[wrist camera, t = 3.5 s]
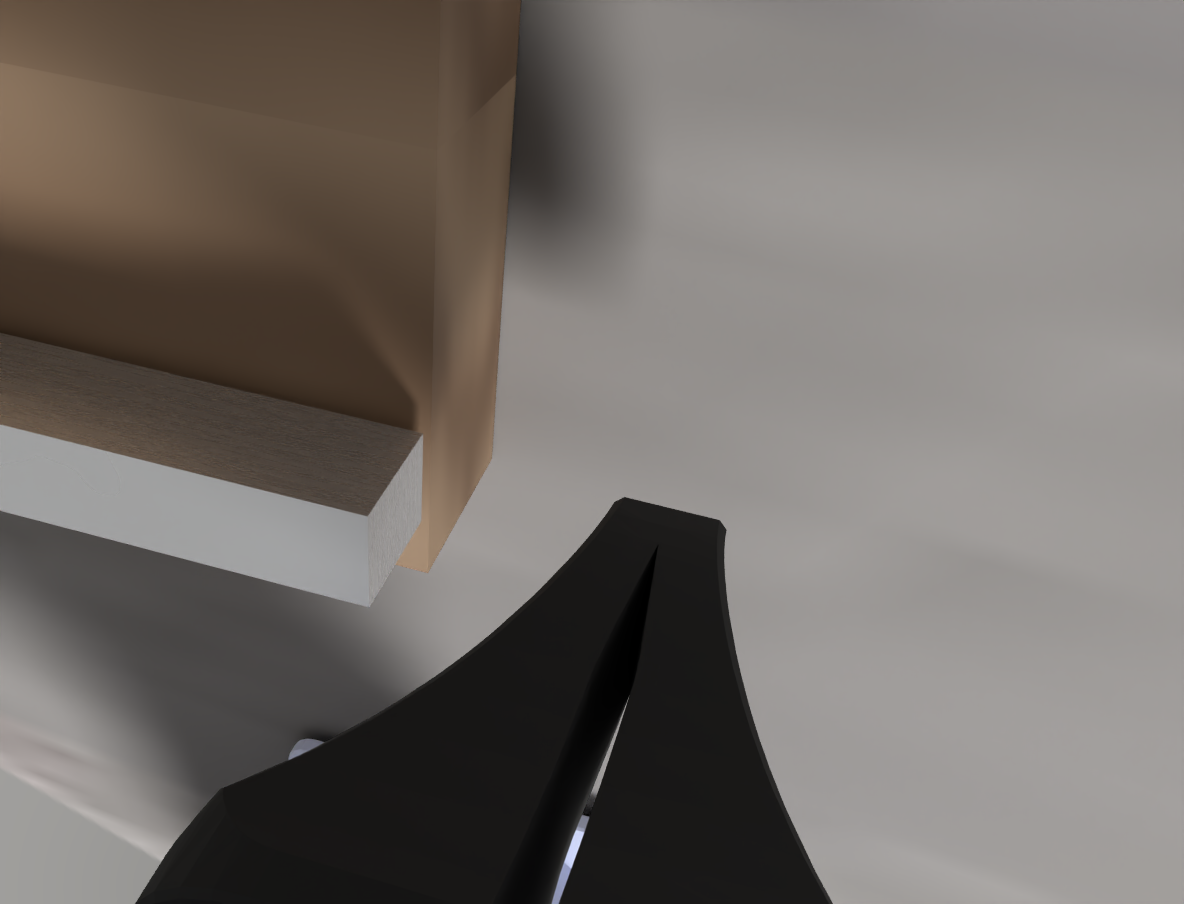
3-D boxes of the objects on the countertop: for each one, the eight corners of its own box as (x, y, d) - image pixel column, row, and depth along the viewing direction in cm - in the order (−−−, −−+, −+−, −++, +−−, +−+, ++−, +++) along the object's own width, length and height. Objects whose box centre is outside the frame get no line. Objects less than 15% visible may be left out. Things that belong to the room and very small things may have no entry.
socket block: (492, 458, 19) (428, 572, 16) (-178, 298, 21) (-324, 381, 18) (553, -514, 11) (453, -562, 9) (-502, -632, 13) (-819, -699, 11)
